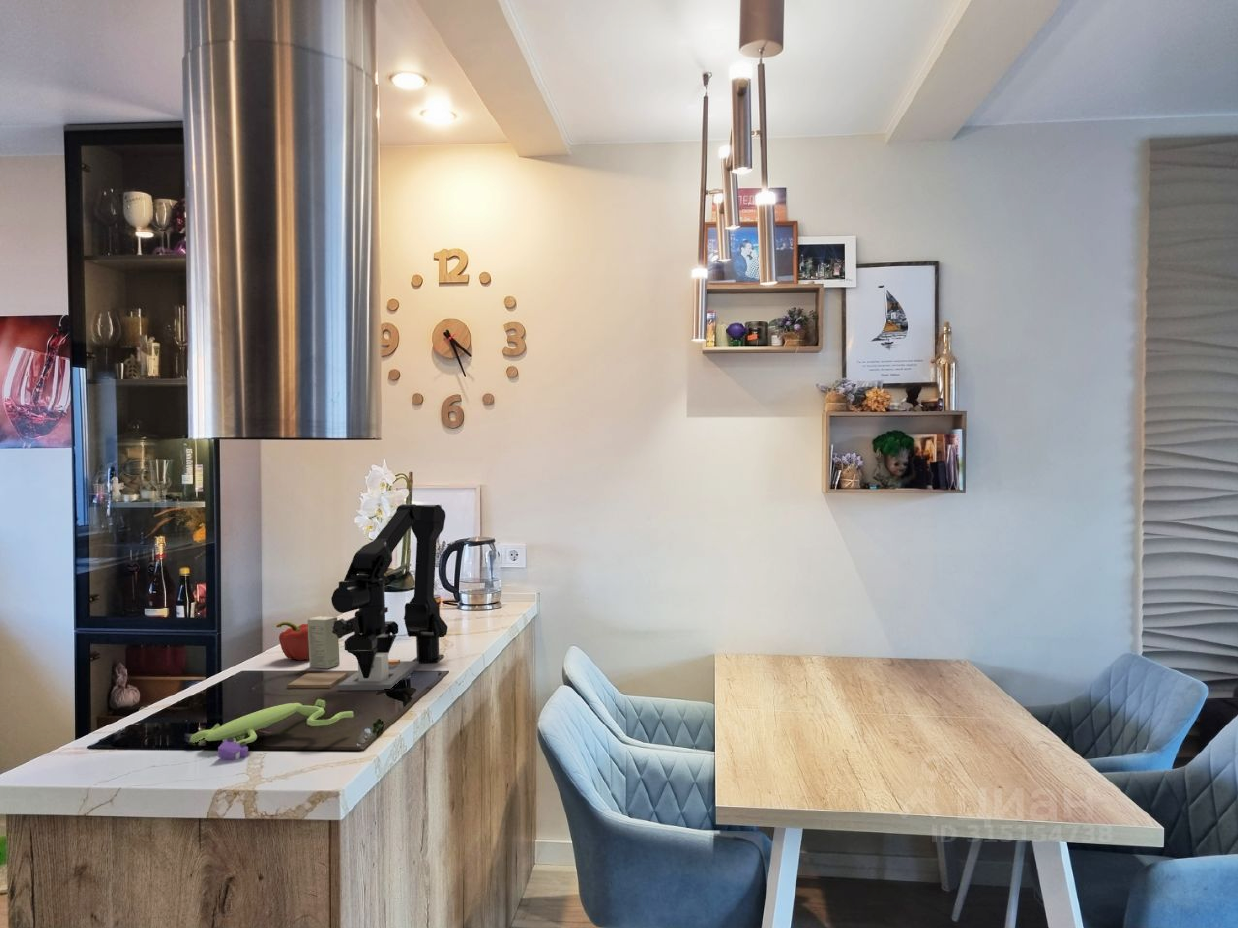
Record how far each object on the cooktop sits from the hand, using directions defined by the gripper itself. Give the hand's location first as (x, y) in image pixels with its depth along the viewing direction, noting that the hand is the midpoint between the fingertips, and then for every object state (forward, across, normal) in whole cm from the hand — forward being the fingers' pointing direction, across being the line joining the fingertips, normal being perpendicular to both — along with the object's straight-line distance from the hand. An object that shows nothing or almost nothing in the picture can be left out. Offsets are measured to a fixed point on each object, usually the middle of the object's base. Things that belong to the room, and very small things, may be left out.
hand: (373, 672), depth 187 cm
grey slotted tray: (+2, -5, 0) cm, 6 cm away
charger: (+2, 0, 0) cm, 2 cm away
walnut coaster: (+2, -1, -14) cm, 14 cm away
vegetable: (+3, -24, -28) cm, 37 cm away
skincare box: (+3, -16, -18) cm, 25 cm away
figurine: (+3, +36, -5) cm, 37 cm away
